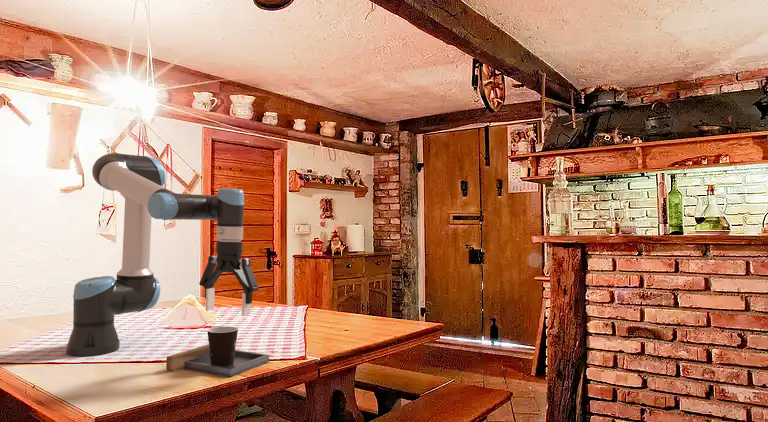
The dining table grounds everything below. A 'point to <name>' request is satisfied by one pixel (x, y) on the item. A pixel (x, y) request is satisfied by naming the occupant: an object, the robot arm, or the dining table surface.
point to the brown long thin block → (184, 357)
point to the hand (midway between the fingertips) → (227, 312)
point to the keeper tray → (241, 364)
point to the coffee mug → (222, 345)
